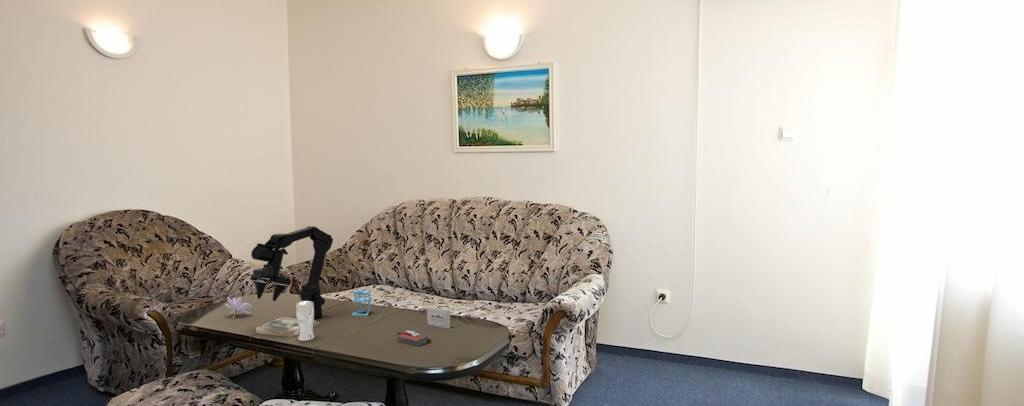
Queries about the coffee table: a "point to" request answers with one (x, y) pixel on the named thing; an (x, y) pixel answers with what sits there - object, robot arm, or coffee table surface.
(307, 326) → the beer glass
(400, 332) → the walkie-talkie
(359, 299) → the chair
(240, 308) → the water lily
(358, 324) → the coffee table surface
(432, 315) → the cassette
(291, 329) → the dock
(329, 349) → the coffee table surface
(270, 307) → the coffee table surface
